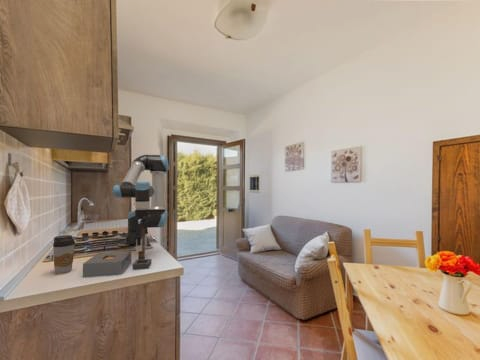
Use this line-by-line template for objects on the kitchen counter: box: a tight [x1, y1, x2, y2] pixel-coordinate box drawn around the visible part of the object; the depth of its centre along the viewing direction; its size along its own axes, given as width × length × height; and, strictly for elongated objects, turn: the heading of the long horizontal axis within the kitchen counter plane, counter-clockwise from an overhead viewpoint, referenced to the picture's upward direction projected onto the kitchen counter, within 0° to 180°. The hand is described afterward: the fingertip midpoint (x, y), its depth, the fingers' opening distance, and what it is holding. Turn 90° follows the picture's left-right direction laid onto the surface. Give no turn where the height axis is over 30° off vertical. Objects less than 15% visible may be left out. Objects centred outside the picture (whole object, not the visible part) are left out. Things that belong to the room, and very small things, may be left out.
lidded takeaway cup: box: [52, 234, 73, 261], centre depth 124 cm, size 9×8×12 cm
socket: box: [131, 258, 152, 271], centre depth 111 cm, size 7×7×2 cm
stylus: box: [137, 228, 146, 260], centre depth 123 cm, size 3×3×17 cm
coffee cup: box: [52, 237, 76, 275], centre depth 104 cm, size 8×8×15 cm
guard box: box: [82, 251, 132, 278], centre depth 107 cm, size 16×16×6 cm
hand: (141, 248), depth 123 cm, fingers open, 11 cm apart
